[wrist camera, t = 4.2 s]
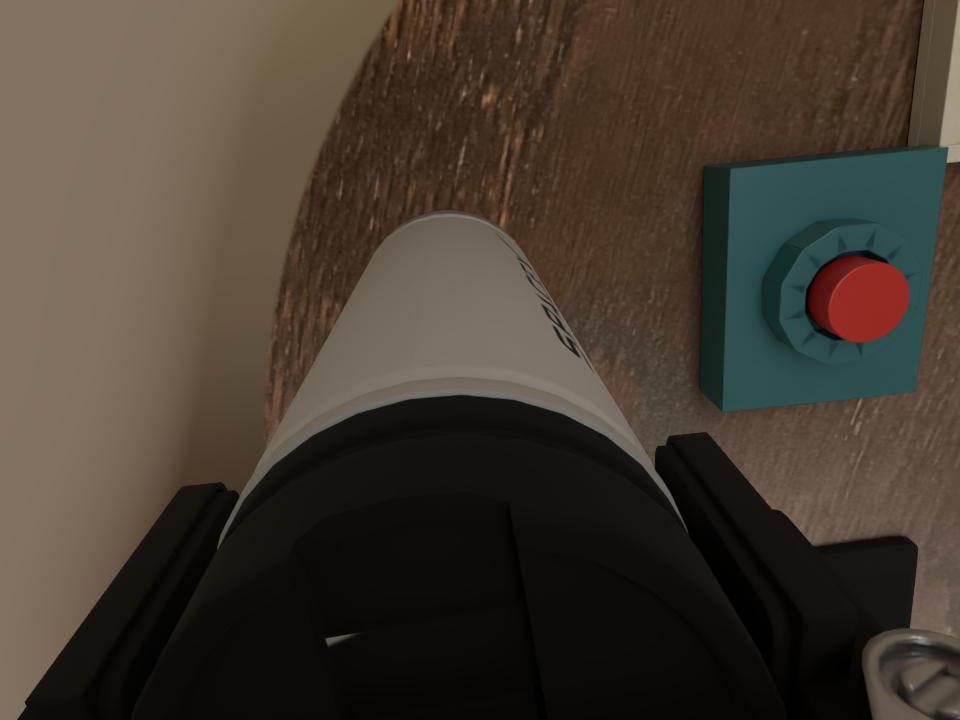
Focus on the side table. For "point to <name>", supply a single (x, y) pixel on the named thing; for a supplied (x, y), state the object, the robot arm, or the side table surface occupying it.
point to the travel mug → (456, 528)
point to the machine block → (811, 272)
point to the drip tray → (938, 80)
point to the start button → (858, 298)
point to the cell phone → (878, 576)
